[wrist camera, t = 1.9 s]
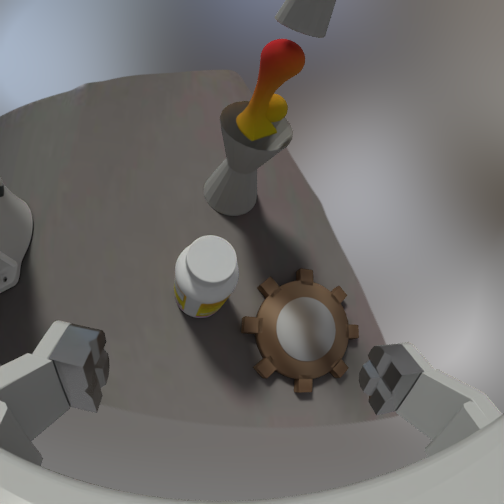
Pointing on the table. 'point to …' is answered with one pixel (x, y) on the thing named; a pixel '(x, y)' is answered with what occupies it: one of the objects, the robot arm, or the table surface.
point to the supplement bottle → (205, 276)
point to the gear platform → (301, 330)
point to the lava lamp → (263, 112)
